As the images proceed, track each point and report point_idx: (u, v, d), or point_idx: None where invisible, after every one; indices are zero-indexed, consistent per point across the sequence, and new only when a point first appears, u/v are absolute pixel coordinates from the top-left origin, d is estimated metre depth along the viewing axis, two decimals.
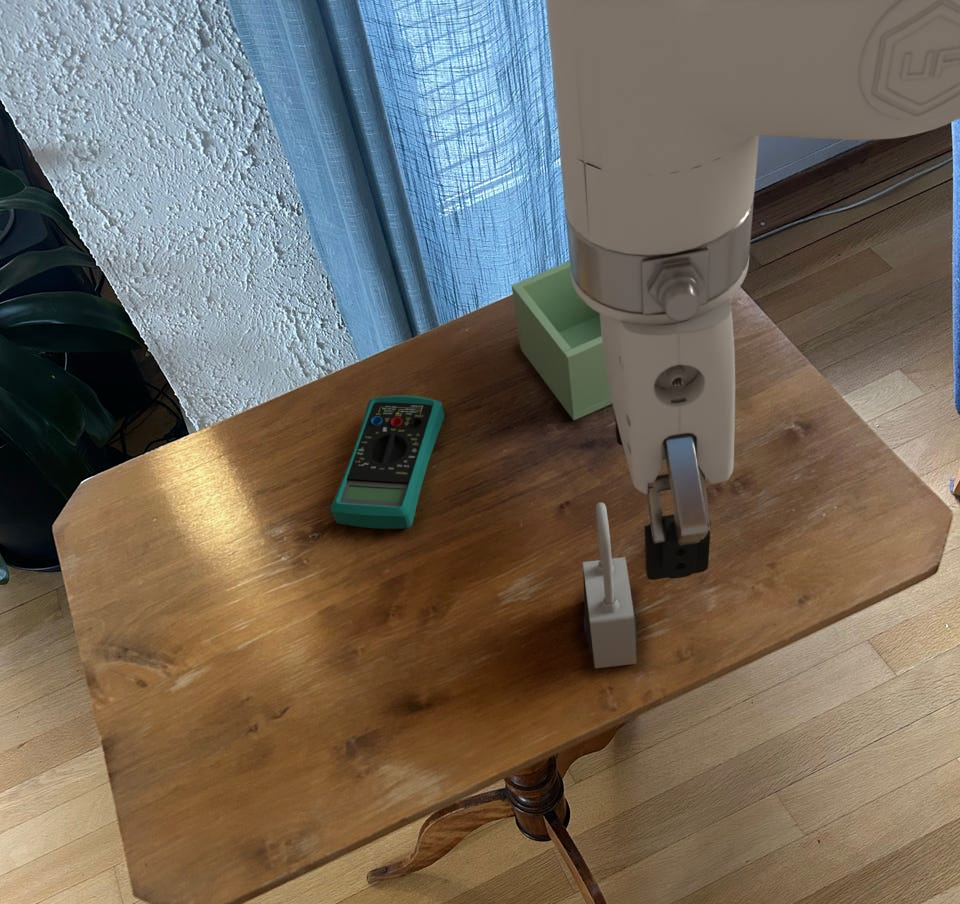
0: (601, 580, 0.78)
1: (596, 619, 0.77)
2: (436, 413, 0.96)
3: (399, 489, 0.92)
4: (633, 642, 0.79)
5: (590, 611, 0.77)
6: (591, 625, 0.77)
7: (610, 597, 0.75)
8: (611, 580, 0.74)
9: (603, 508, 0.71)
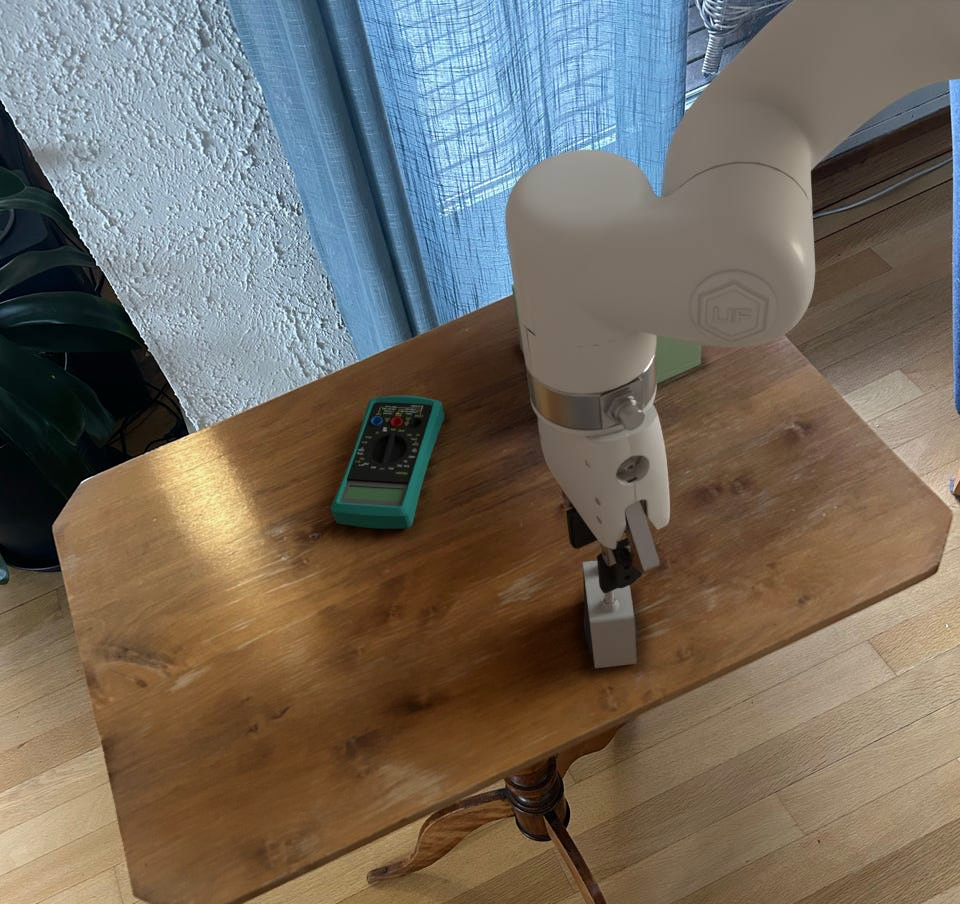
0: None
1: (596, 619, 0.77)
2: (436, 413, 0.96)
3: (399, 489, 0.92)
4: (633, 642, 0.79)
5: (590, 611, 0.77)
6: (591, 625, 0.77)
7: (610, 597, 0.75)
8: None
9: None
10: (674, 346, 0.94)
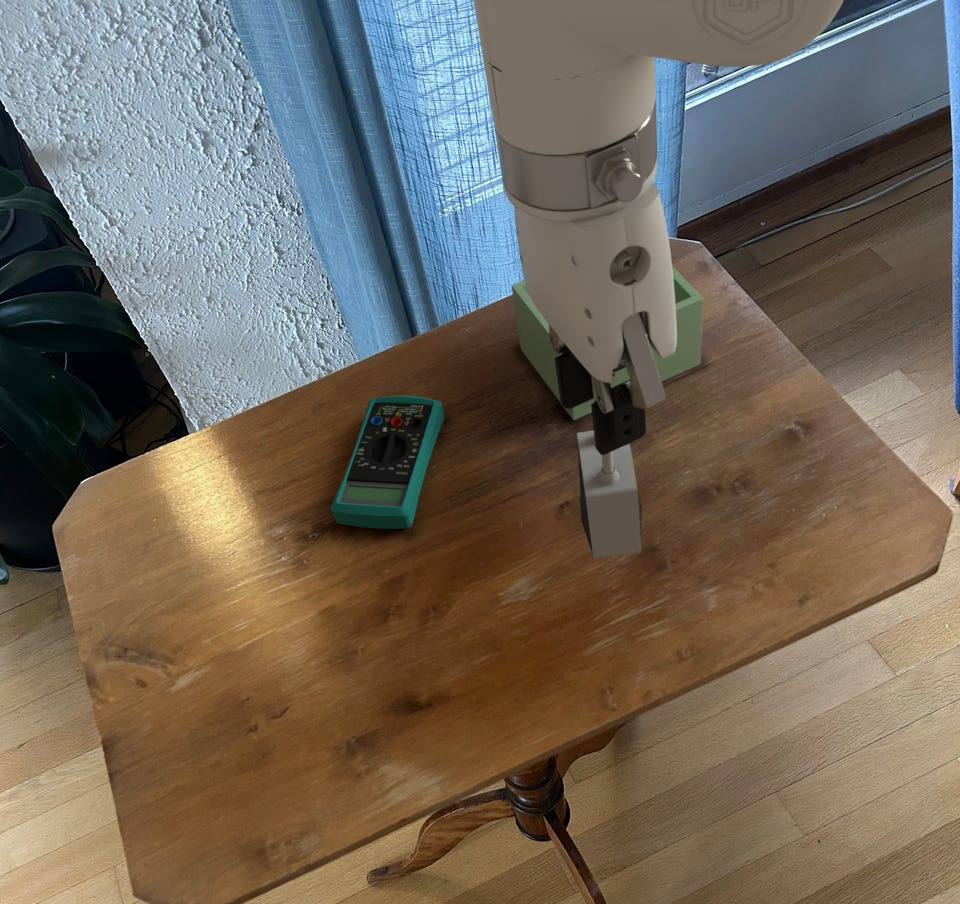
0: None
1: (593, 493, 0.66)
2: (436, 413, 0.96)
3: (399, 489, 0.92)
4: (637, 523, 0.68)
5: (586, 484, 0.66)
6: (587, 500, 0.66)
7: (608, 464, 0.64)
8: None
9: None
10: None
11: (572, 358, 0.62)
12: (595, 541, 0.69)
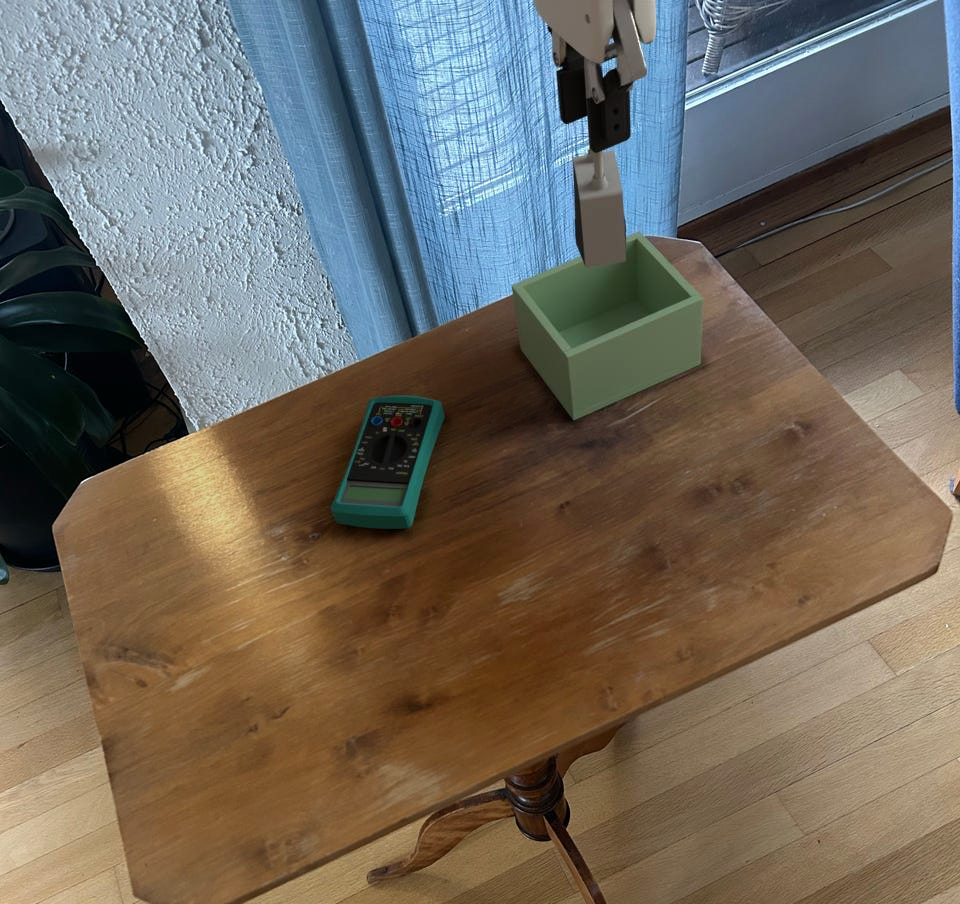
0: (590, 166, 0.80)
1: (586, 197, 0.79)
2: (436, 413, 0.96)
3: (399, 489, 0.92)
4: (622, 229, 0.81)
5: (580, 190, 0.79)
6: (581, 203, 0.79)
7: (599, 168, 0.78)
8: None
9: None
10: (674, 346, 0.94)
11: (571, 71, 0.75)
12: (587, 249, 0.82)
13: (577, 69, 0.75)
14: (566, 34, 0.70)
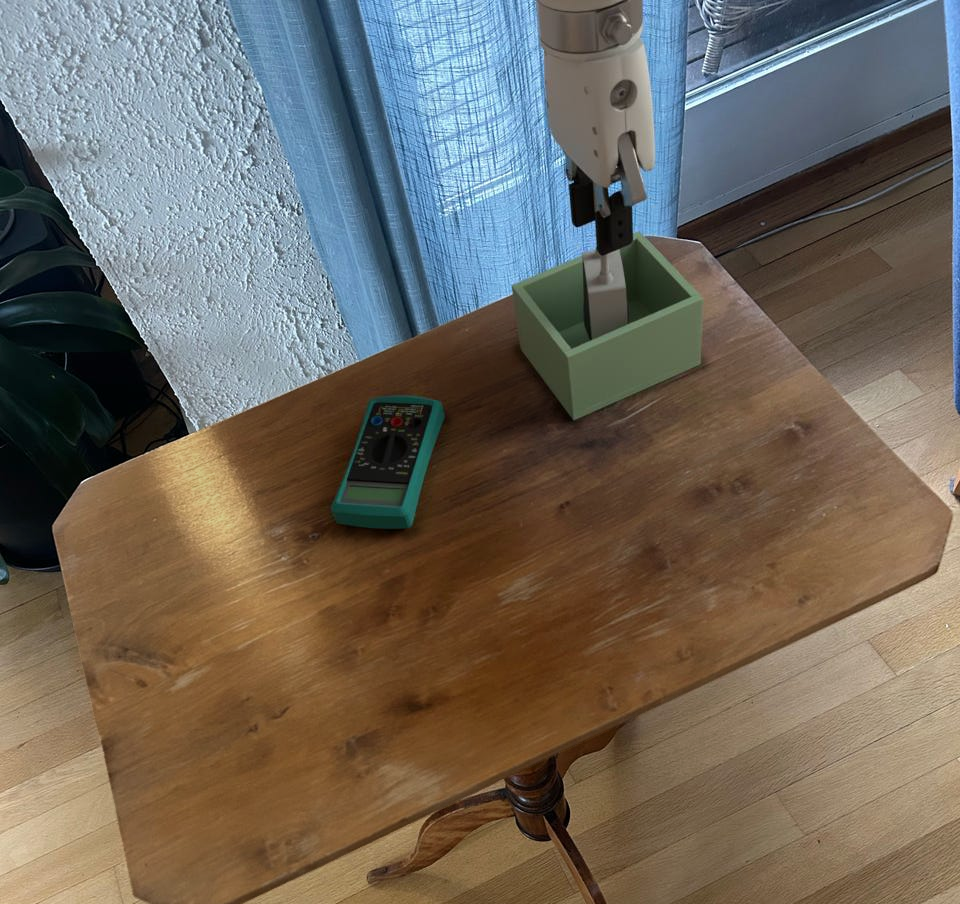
0: (598, 262, 0.91)
1: (593, 290, 0.90)
2: (436, 413, 0.96)
3: (399, 489, 0.92)
4: (625, 317, 0.92)
5: (588, 284, 0.90)
6: (589, 296, 0.90)
7: (605, 267, 0.89)
8: None
9: None
10: (674, 346, 0.94)
11: (581, 184, 0.86)
12: (594, 333, 0.93)
13: (587, 183, 0.86)
14: (577, 160, 0.81)
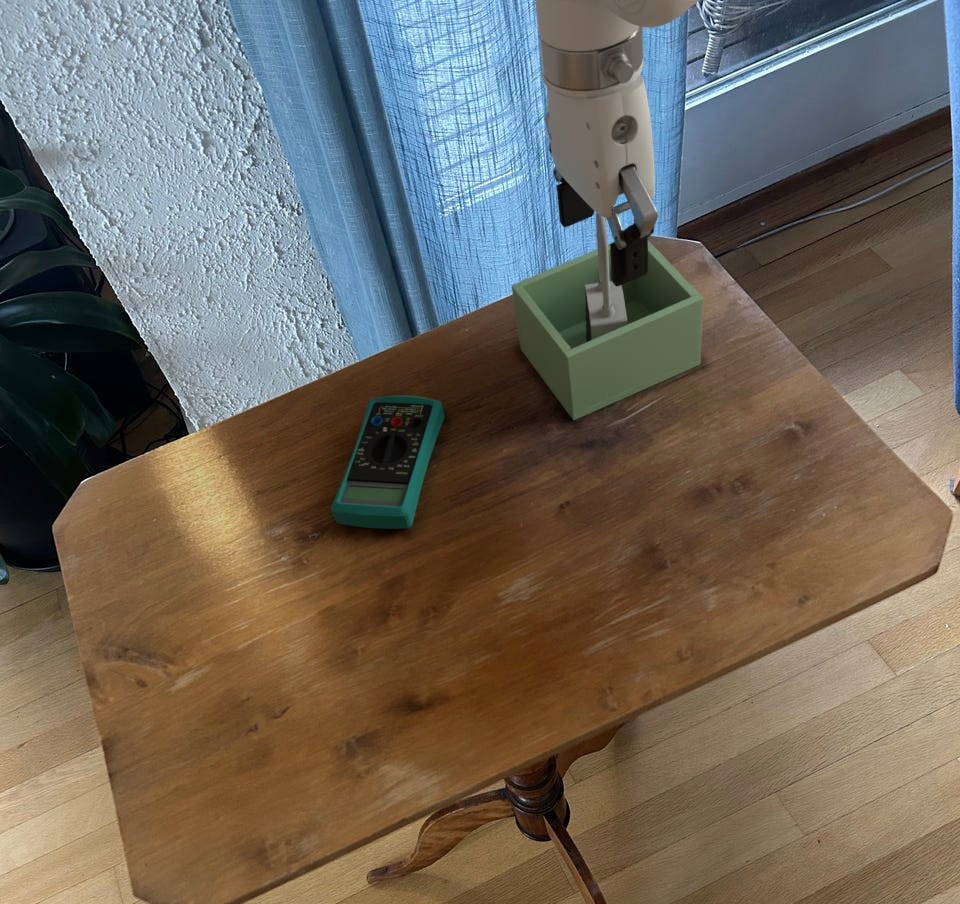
0: (600, 295, 0.94)
1: (596, 323, 0.93)
2: (436, 413, 0.96)
3: (399, 489, 0.92)
4: None
5: (591, 317, 0.93)
6: (592, 328, 0.93)
7: (607, 300, 0.92)
8: (608, 281, 0.90)
9: None
10: (674, 346, 0.94)
11: (568, 185, 0.89)
12: None
13: None
14: (579, 191, 0.83)
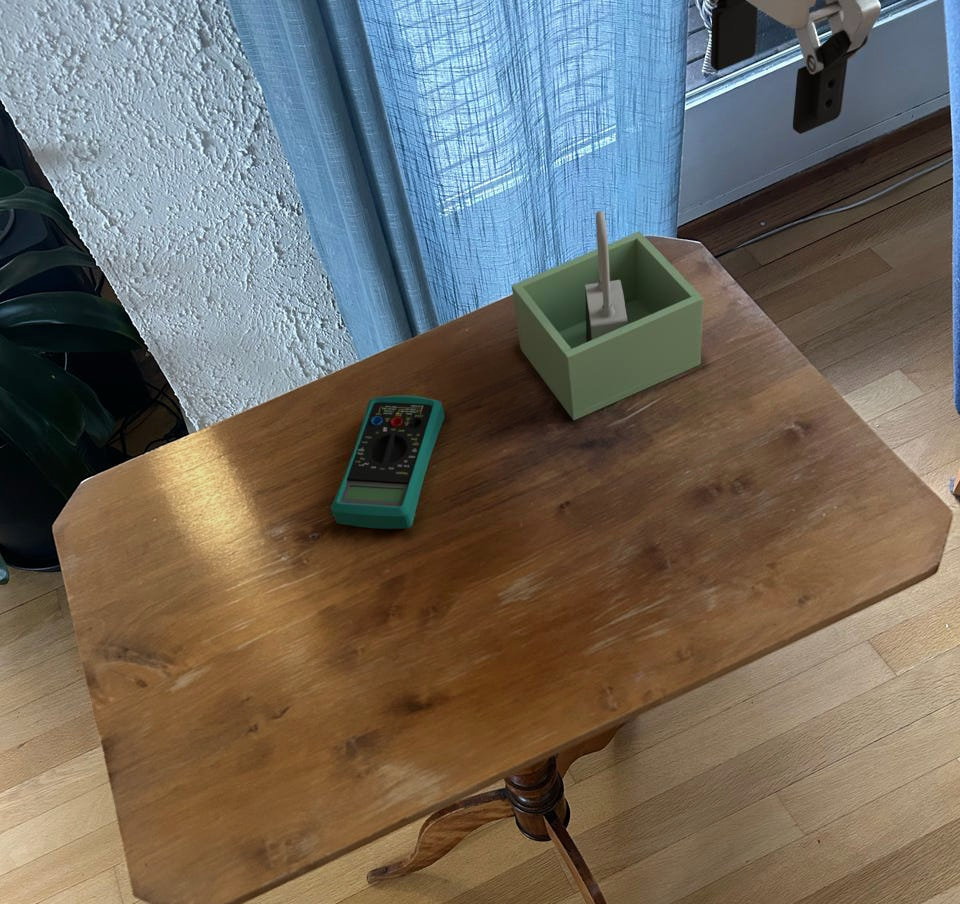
0: (600, 295, 0.94)
1: (596, 323, 0.93)
2: (436, 413, 0.96)
3: (399, 488, 0.92)
4: None
5: (591, 317, 0.93)
6: (592, 328, 0.93)
7: (607, 300, 0.92)
8: (608, 281, 0.90)
9: (602, 212, 0.87)
10: (674, 346, 0.94)
11: (728, 8, 0.67)
12: None
13: (735, 6, 0.67)
14: None
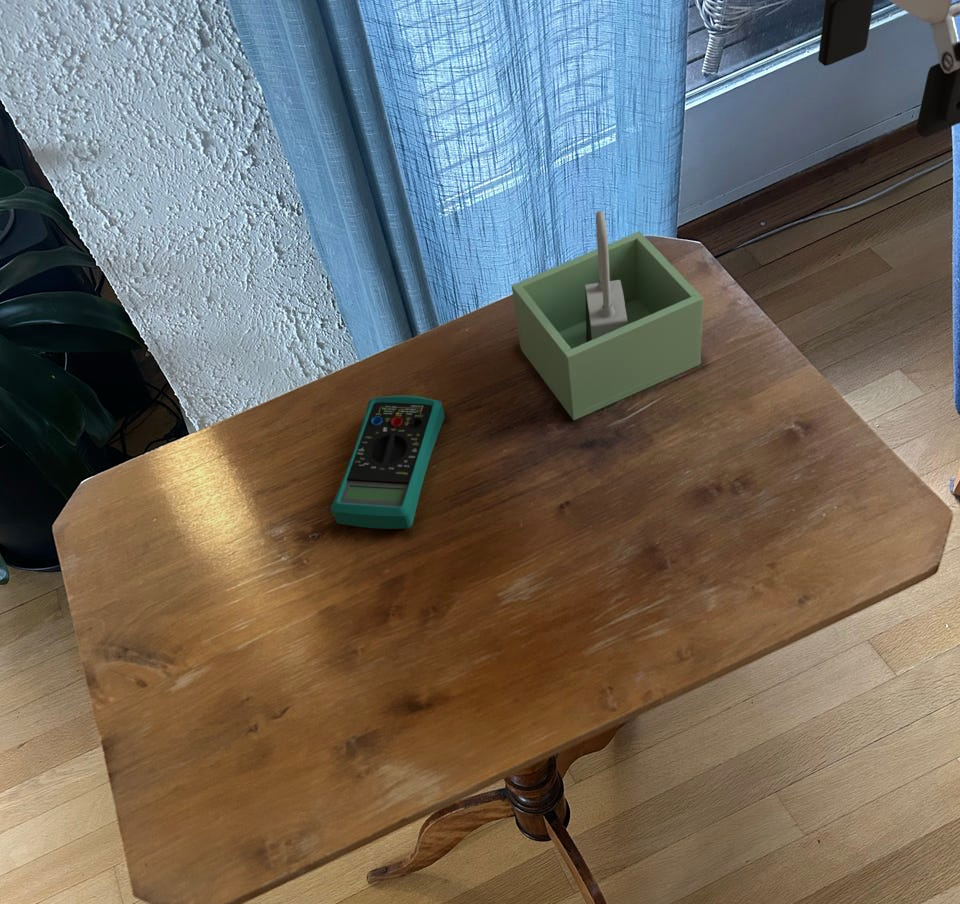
0: (600, 295, 0.94)
1: (596, 323, 0.93)
2: (436, 413, 0.96)
3: (399, 489, 0.92)
4: None
5: (591, 317, 0.93)
6: (592, 328, 0.93)
7: (607, 300, 0.92)
8: (608, 281, 0.90)
9: (602, 212, 0.87)
10: (674, 346, 0.94)
11: None
12: None
13: None
14: None
